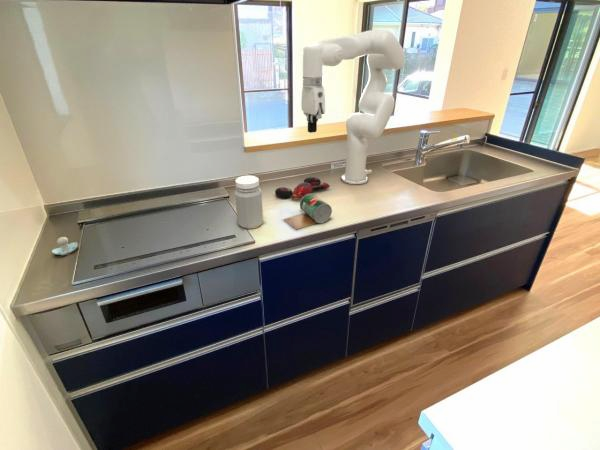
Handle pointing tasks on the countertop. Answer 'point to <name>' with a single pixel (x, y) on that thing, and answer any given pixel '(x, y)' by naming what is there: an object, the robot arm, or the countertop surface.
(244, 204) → the jar
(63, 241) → the pacifier
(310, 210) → the canned tomato
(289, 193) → the toy motorcycle
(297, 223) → the mat
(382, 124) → the robot arm
